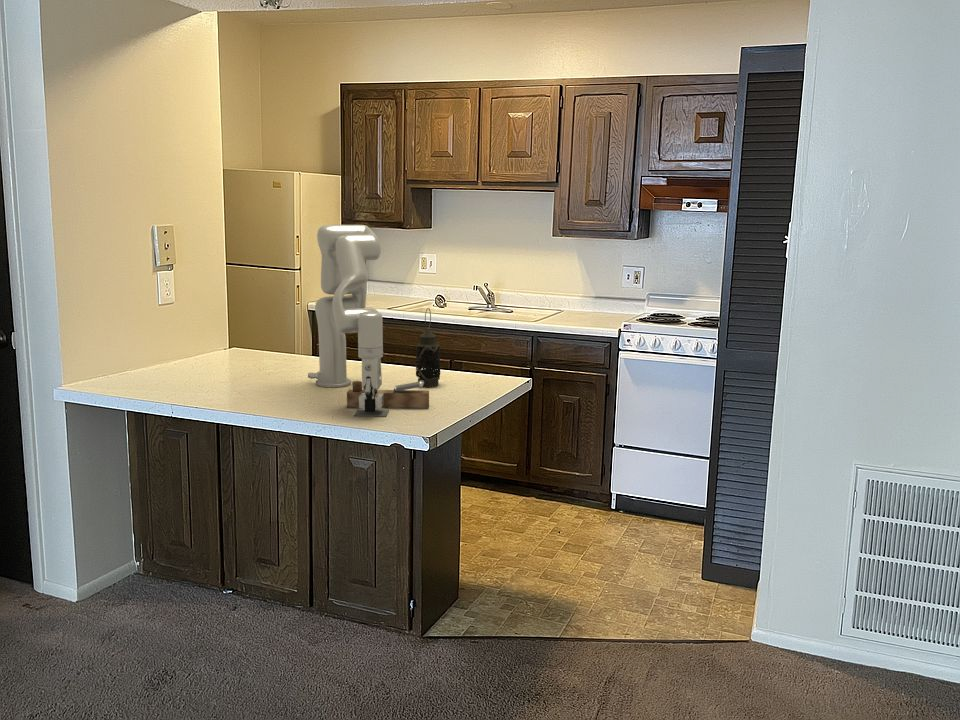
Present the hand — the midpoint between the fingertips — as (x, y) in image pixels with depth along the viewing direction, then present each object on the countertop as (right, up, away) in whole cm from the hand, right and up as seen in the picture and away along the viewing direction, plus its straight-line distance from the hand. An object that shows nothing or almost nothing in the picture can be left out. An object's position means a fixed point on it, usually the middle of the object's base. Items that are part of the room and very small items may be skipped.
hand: (371, 408), depth 265 cm
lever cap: (0, +1, 0) cm, 1 cm away
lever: (+7, +6, +8) cm, 12 cm away
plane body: (+4, 0, +10) cm, 10 cm away
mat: (0, -2, 0) cm, 2 cm away
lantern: (+15, +6, +40) cm, 43 cm away
